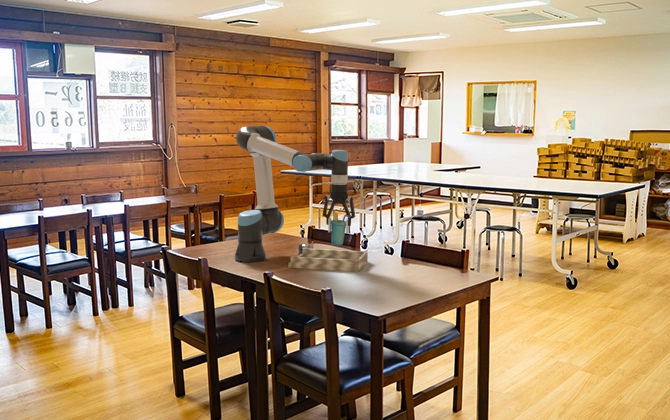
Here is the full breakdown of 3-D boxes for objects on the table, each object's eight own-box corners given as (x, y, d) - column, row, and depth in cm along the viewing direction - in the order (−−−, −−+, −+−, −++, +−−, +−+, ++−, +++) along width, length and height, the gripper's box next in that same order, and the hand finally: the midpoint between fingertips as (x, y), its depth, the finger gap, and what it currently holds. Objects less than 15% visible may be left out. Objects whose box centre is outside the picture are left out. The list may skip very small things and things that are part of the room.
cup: (353, 246, 290) (356, 215, 287) (340, 248, 285) (343, 216, 283) (336, 239, 301) (338, 209, 298) (322, 241, 296) (325, 210, 294)
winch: (298, 256, 313) (297, 241, 312) (300, 254, 318) (300, 239, 317) (311, 257, 311) (311, 242, 310) (314, 255, 316) (314, 240, 315)
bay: (288, 267, 290) (288, 256, 289) (300, 258, 309) (300, 248, 308) (359, 271, 282) (359, 260, 281) (367, 261, 301) (367, 251, 301)
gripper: (315, 183, 288) (315, 232, 291) (359, 185, 283) (358, 235, 286) (319, 181, 295) (319, 229, 298) (362, 183, 290) (361, 232, 293)
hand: (338, 232), depth 292 cm, fingers closed on cup, 8 cm apart
